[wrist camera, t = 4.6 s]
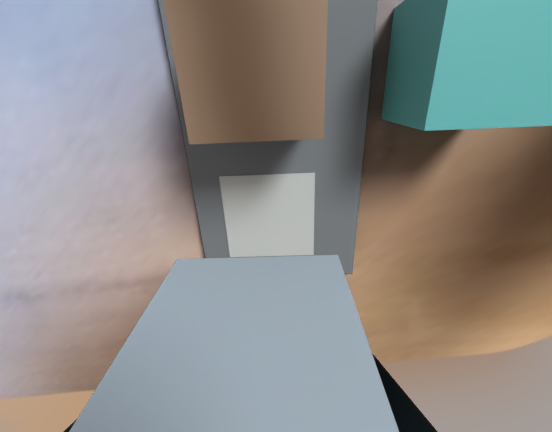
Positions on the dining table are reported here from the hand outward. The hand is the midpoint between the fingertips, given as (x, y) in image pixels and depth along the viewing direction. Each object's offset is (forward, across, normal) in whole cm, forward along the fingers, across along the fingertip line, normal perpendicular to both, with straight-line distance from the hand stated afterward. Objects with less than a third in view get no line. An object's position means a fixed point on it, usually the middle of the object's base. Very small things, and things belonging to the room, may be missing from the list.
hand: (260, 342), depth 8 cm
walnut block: (+9, 0, -8) cm, 12 cm away
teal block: (+10, -9, -8) cm, 16 cm away
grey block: (+1, 0, 0) cm, 1 cm away
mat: (+10, 0, -4) cm, 11 cm away
